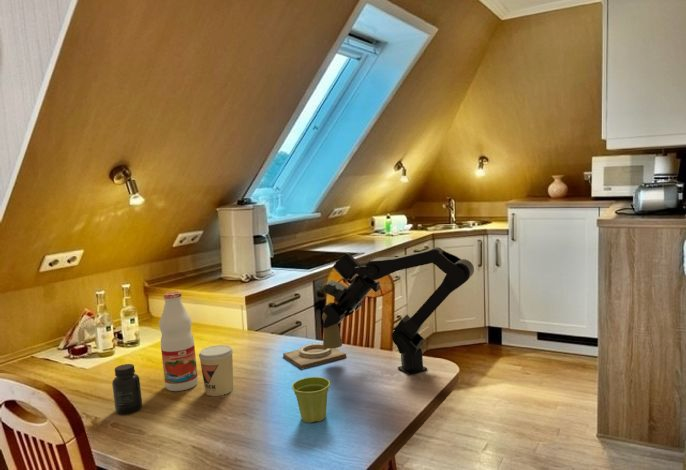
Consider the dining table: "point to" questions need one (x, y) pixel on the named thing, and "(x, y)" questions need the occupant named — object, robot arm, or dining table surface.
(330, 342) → the olive brown pestle
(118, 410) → the supplement bottle
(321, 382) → the plant pot
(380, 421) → the dining table surface
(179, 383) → the fruit juice
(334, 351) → the ring board
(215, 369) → the white canister
